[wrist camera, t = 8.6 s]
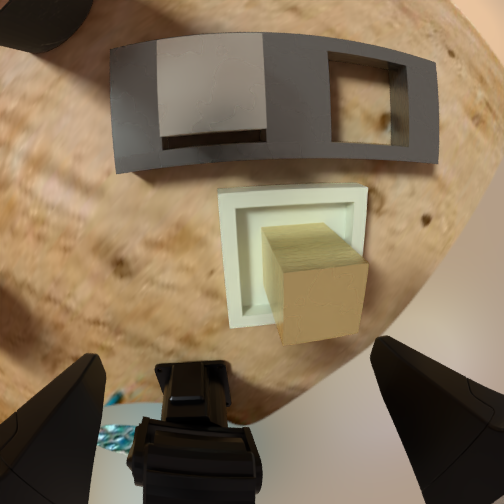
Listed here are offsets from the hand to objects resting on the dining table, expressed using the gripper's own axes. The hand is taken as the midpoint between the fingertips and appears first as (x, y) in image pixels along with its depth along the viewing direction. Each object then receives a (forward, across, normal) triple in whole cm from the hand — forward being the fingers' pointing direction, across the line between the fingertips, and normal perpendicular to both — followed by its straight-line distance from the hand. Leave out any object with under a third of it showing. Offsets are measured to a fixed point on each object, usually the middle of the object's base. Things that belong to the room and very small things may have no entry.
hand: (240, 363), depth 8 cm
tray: (+13, -5, +2) cm, 14 cm away
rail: (+13, -4, -9) cm, 16 cm away
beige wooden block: (+12, -5, +2) cm, 14 cm away
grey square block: (+13, +1, -9) cm, 16 cm away
